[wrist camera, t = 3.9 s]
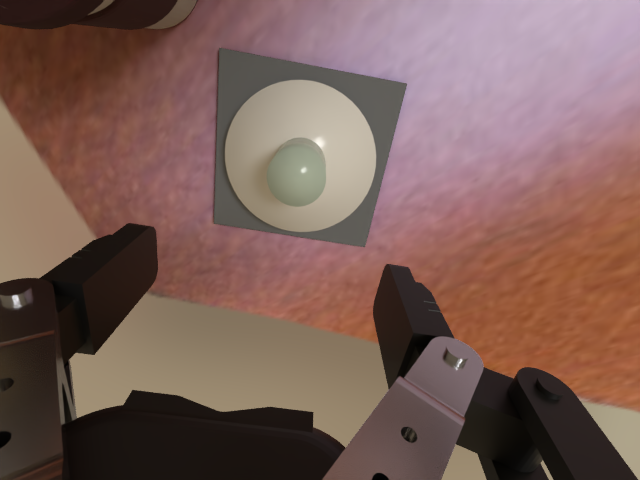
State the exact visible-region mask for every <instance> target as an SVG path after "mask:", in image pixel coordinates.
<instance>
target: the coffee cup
mask: <svg viewBox="0 0 640 480" xmlns="http://www.w3.org/2000/svg"><path fill="white" fill-rule="evenodd" d="M196 2H197V0H0V24H2V25H8V26H14V27H20V28H28V29H52V28H57V27H62V26H66V25H69V24H78V25H88V26H98V27H107V28H117V29H128V30H132V29H141V28H149V29H165V28H169V27H172V26H175V25H177V24H178V23H180V22H181V21H183V20H184V19H185V18H186V17H187V16H188V15H189V14H190V12H191V11H192V9H193V8H194V6H195V4H196Z"/></svg>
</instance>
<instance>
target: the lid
mask: <svg viewBox="0 0 640 480" xmlns="http://www.w3.org/2000/svg"><path fill="white" fill-rule="evenodd" d="M225 163H226V170H227V174H228V177H229V180H230V183H231V185H232V187H233V189H234V191H235V193H236V195H237V196H238V198H239V199H240V200H241V202H242V203H243V204H244V205H245V207H246V208H247V209H248V210H249V211H250V212H252V213H253V214H254V215H255V216H256V217H258V218H259V219H261V220H262V221H264V222H266V223H268V224H270V225H272V226H274V227H277V228H280V229H283V230H288V231H294V232H311V231H318V230H322V229H325V228H328V227H331V226H333V225H335V224H337V223H339V222H341V221H342V220H344V219H345V218H347V217H348V216H349V215H350V214H351V213H353V212H354V211H355V210H356V209H357V207H358V206H359V205H360V204H361V203H362V201H363V200H364V198H365V197H366V195H367V193H368V191H369V189H370V187H371V184H372V181H373V178H374V174H375V168H376V148H375V143H374V138H373V135H372V132H371V129H370V126H369V125H368V123H367V121H366V119H365V117H364V116H363V114H362V113H361V111H360V110H359V109H358V107H357V106H356V105H355V104H354V103H353V102H352V101H351V100H350V99H348V98H347V97H346V96H345V95H344V94H342V93H341V92H339V91H337V90H336V89H334V88H332V87H330V86H328V85H325V84H323V83H319V82H315V81H309V80H288V81H283V82H278V83H275V84H272V85H270V86H268V87H266V88H264V89H262V90H260V91H258V92H257V93H256V94H254V95H253V96H251V97H250V98H249V99H248V100H247V101H246V102H245V103H244V104H243V105H242V107H241V108H240V109H239V111H238V112H237V114H236V115H235V117H234V119H233V121H232V123H231V125H230V128H229V130H228V134H227V138H226V144H225Z"/></svg>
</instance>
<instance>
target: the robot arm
mask: <svg viewBox="0 0 640 480" xmlns="http://www.w3.org/2000/svg"><path fill="white" fill-rule="evenodd" d="M157 271H158V259H157V239H156V231H155V228H154V227H152V226H145V225H139V224H132V223H128V224H126V225H125V226H124V227H122V228H121V229H120V230H118V231H117V232H116V233H114V234H113V235H107V236H104V237H102V238H99V239H96V240H93V241H92V242H90V243H89V244H88V245H86V246H85V247H84V248H82V250H79V251H78V252H76V253H75V254H73V255H72V257H69V258H68V259H66V260H65V261H63V262H62V263H61V264H59V265H58V266H56V267H55V268H54V269H52V270H51V271H49V272H48V273H46V274H45V275H44V276H42V277H41V278H39V279H37V278H24V279H16V280H11V281H7V282H3V283H0V480H441V479H442V476H443V474H444V471H445V469H446V466H447V464H448V461H449V459H450V456H451V454H452V452H453V449H454V447H455V444H457V445H459V446H462V447H464V448H466V449H468V450H471V451H473V452H475V453H477V454H478V457H479V459H480V462H481V465H482V468H483V470H484V473H485V476H486V479H487V480H549V479H548V477H547V475H546V473H545V472H544V470H543V468H542V466H541V464H540V463H541V462H542V460H543V461H544V462H545V464H546V466H547V468H548V470H549V472H550V474H551V476H552V477H553V479H554V480H638V479H637V477H636V476H635V475H634V473H633V472H632V471H631V469H630V468H629V467H628V465H627V464H626V463H625V461H624V460H623V458H622V457H621V456H620V454H619V453H618V452H617V450H616V449H615V448H614V446H613V445H612V444H611V442H610V441H609V440H608V438H607V437H606V435H605V434H604V433H603V431H602V430H601V429H600V428H599V426H598V425H597V423H596V422H595V421H594V419H593V418H592V417H591V415H590V414H589V413H588V411H587V410H586V408H585V407H584V406H583V405H582V403H581V402H580V400H579V399H578V398H577V396H576V395H575V394H574V392H573V391H572V390H571V389H570V388H569V387H568V386H567V385H566V384H564V383H563V382H562V381H560V380H559V379H558V378H556V377H554V376H553V375H551V374H549V373H547V372H545V371H542V370H539V369H536V368H530V367H525V368H522V369H520V370H519V371H518V373H517V374H516V376H515V378H514V379H513V378H510V377H508V376H505V375H502V374H500V373H497V372H494V371H492V370H489V369H487V368H484V367H483V362H482V360H481V358H480V357H479V355H478V354H477V353H476V352H475V351H474V350H473V349H472V348H471V347H469V346H468V345H466V344H465V343H463V342H461V341H459V340H457V339H455V338H454V336H453V334H452V332H451V330H450V329H449V327H448V325H447V323H446V321H445V319H444V317H443V315H442V313H440V309H439V307H438V305H437V304H436V301H435V299H434V297H433V295H432V293H431V292H430V291H429V290H428V289H427V288H426V287H425V286H424V285H423V284H422V283H418V282H415V280H414V278H413V276H412V274H411V271H410V269H409V268H408V267H404V266H398V265H391V264H387V265H386V266H385V268H384V270H383V274H382V277H381V280H380V284H379V287H378V290H377V294H376V297H375V300H374V306H373V317H374V322H375V327H376V332H377V336H378V341H379V346H380V350H381V355H382V360H383V364H384V369H385V374H386V379H387V383H388V388H389V390H388V392H387V393H386V394H385V396H384V397H383V399H382V400H381V401H380V403H379V404H378V405H377V407H376V408H375V409H374V411H373V412H372V413H371V415H370V416H369V418H368V419H367V420H366V421H365V423H364V424H363V426H362V427H361V428H360V429H359V431H358V432H357V433H356V435H355V436H354V437H353V439H352V440H351V441H350V443H349V444H348V446H347V447H346V448H345V447H344V446H343V445H342V444H341V443H340V442H338V441H337V440H336V439H334V438H333V437H331V436H330V435H328V434H326V433H324V432H323V431H321V430H319V429H316V428H313V412H307V411H299V410H291V409H283V408H275V407H265V408H256V409H247V410H238V411H230V412H220V411H216V410H214V409H211V408H208V407H206V406H203V405H201V404H198V403H196V402H193V401H191V400H188V399H186V398H183V397H181V396H177V395H169V394H161V393H153V392H145V391H137V390H132V392H131V393H130V395H129V397H128V398H127V400H126V402H125V403H124V405H121V406H115V407H110V408H106V409H102V410H99V411H95V412H92V413H90V414H87V415H84V416H82V417H79V418H77V416H76V409H75V399H74V391H73V382H72V373H71V366H70V361H69V359H70V358H71V357H72V356H73V355H74V354H75V353H84V354H91V355H95V353H96V352H97V351H98V350H99V348H100V347H101V346H102V345H103V344H104V342H105V341H106V340H107V339H108V338H109V336H110V335H111V334H112V333H113V332H114V330H115V329H116V328H117V327H118V326H119V324H120V323H121V322H122V321H123V320H124V318H125V317H126V316H127V315H128V314H129V312H130V311H131V310H132V309H133V308H134V306H135V305H136V304H137V303H138V301H139V300H140V299H141V298H142V297H143V295H144V294H145V293H146V292H147V291H148V289H149V288H150V287H151V286H152V284H153V283H154V281H155V279H156V276H157Z"/></svg>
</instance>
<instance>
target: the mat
mask: <svg viewBox="0 0 640 480" xmlns="http://www.w3.org/2000/svg"><path fill="white" fill-rule="evenodd" d="M288 80H309V81H315V82H319V83H323V84H325V85H328V86H330V87H332V88H334V89H336V90H337V91H339V92H341V93H342V94H344V95H345V96H346V97H347V98H348V99H350V100H351V101H352V102H353V103H354V104H355V105H356V106H357V107H358V109H359V110H360V111H361V113H362V114H363V116H364V117H365V119H366V121H367V123H368V125H369V126H370V129H371V132H372V135H373V138H374V143H375V148H376V168H375V174H374V178H373V181H372V184H371V187H370V189H369V191H368V193H367V195H366V197H365V198H364V200H363V201H362V203H361V204H360V205H359V206H358V207H357V209H356V210H355V211H354V212H353V213H351V214H350V215H349V216H348V217H347V218H345V219H344V220H342V221H341V222H339V223H337V224H335V225H333V226H331V227H328V228H325V229H322V230H318V231H311V232H294V231H288V230H283V229H280V228H277V227H274V226H272V225H270V224H268V223H266V222H264V221H262V220H261V219H259V218H258V217H256V216H255V215H254V214H253V213H252V212H250V211H249V210H248V209H247V208H246V207H245V205H244V204H243V203H242V202H241V200H240V199H239V198H238V196H237V195H236V193H235V191H234V189H233V187H232V185H231V183H230V180H229V177H228V174H227V170H226V163H225V144H226V138H227V134H228V130H229V128H230V125H231V123H232V121H233V119H234V117H235V115H236V114H237V112H238V111H239V109H240V108H241V107H242V105H243V104H244V103H245V102H246V101H247V100H248V99H249V98H250V97H251V96H253V95H254V94H256V93H257V92H258V91H260V90H262V89H264V88H266V87H268V86H270V85H272V84H275V83H278V82H283V81H288ZM406 86H407V84H406V83H401V82H395V81H390V80H385V79H380V78H375V77H369V76H364V75H359V74H354V73H349V72H343V71H338V70H333V69H328V68H322V67H317V66H312V65H307V64H302V63H296V62H291V61H286V60H281V59H275V58H270V57H265V56H260V55H255V54H249V53H244V52H239V51H234V50H228V49H223V48H219V78H218V110H217V142H216V174H215V206H214V224H220V225H227V226H233V227H239V228H246V229H252V230H259V231H265V232H271V233H278V234H284V235H291V236H297V237H303V238H310V239H316V240H323V241H329V242H335V243H342V244H348V245H355V246H361V247H365V245H366V241H367V237H368V233H369V229H370V225H371V221H372V218H373V214H374V210H375V206H376V202H377V198H378V194H379V190H380V187H381V183H382V179H383V175H384V171H385V167H386V163H387V160H388V156H389V152H390V148H391V144H392V140H393V136H394V132H395V129H396V125H397V121H398V117H399V113H400V109H401V105H402V101H403V98H404V94H405V90H406Z"/></svg>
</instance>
